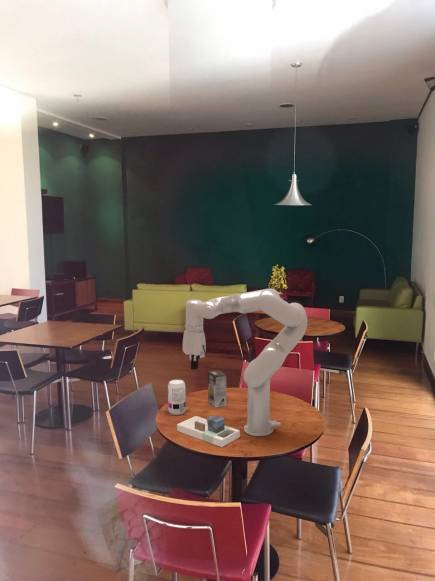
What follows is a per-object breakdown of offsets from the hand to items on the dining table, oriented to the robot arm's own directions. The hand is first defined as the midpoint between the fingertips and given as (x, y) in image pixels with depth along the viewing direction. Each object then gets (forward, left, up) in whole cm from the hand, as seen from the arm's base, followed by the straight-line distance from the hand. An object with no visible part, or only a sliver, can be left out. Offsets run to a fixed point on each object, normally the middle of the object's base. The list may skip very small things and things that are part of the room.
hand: (194, 368), depth 207 cm
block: (-8, +14, -23) cm, 28 cm away
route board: (-5, +11, -26) cm, 28 cm away
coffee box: (-12, -24, -26) cm, 37 cm away
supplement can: (+8, -15, -26) cm, 31 cm away
